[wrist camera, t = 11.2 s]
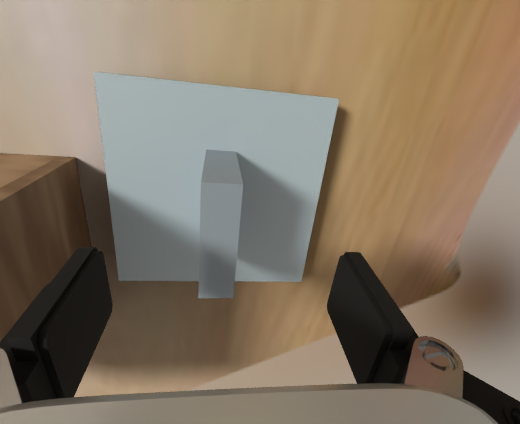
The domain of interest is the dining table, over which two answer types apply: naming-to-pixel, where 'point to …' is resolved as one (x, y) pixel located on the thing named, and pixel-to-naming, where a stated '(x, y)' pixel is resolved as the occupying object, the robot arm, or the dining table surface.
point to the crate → (36, 227)
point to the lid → (211, 179)
